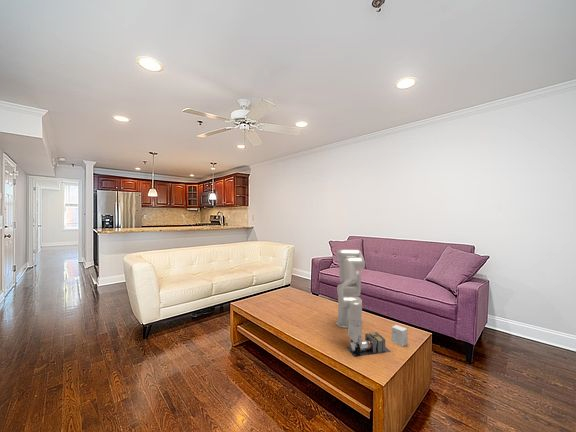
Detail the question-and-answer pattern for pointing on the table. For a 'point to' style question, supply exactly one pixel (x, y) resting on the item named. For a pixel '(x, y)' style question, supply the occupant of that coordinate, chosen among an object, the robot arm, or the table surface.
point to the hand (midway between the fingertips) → (355, 350)
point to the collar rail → (374, 350)
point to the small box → (399, 335)
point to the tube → (364, 346)
